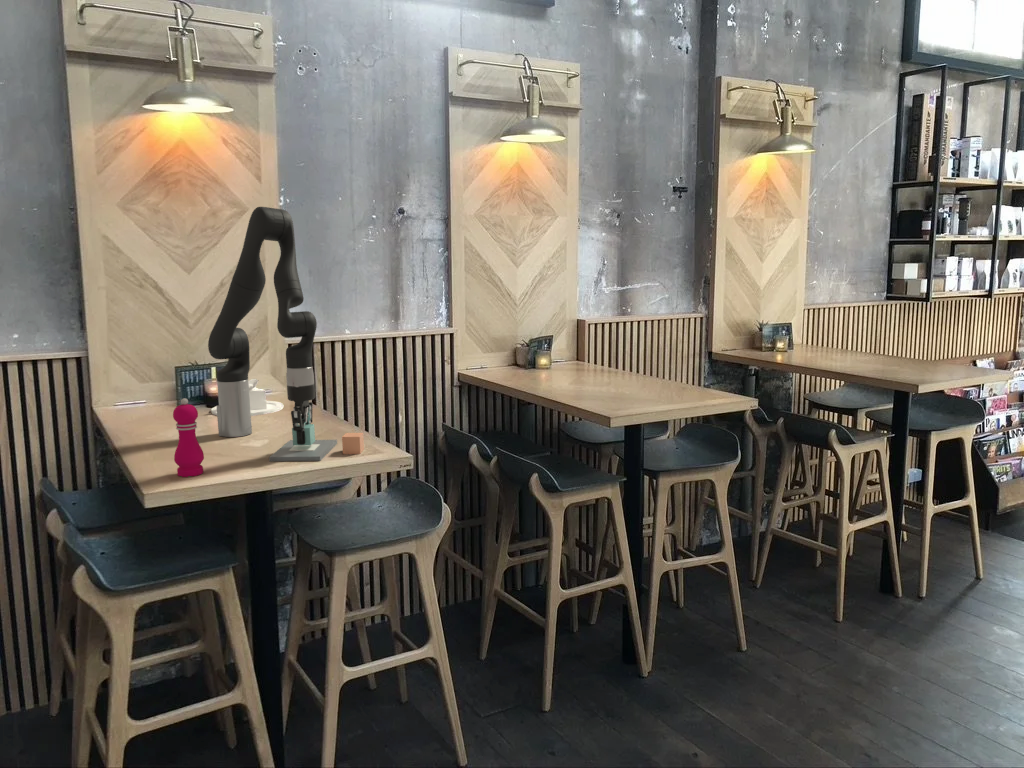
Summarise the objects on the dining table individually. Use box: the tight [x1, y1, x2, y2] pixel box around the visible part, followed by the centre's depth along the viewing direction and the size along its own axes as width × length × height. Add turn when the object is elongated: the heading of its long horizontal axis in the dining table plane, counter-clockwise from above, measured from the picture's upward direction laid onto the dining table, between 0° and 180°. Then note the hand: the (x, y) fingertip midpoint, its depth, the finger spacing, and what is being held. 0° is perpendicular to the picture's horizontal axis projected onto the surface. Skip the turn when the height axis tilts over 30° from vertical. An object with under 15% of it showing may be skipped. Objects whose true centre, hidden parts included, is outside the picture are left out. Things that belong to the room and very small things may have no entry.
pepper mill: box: [172, 397, 205, 478], centre depth 219 cm, size 7×7×20 cm
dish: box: [210, 378, 285, 417], centre depth 305 cm, size 25×25×11 cm
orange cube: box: [341, 432, 365, 455], centre depth 241 cm, size 5×5×5 cm
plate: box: [268, 439, 338, 462], centre depth 241 cm, size 14×20×1 cm
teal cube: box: [291, 423, 316, 446], centre depth 241 cm, size 5×5×5 cm
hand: (304, 441), depth 241 cm, fingers closed on teal cube, 5 cm apart
